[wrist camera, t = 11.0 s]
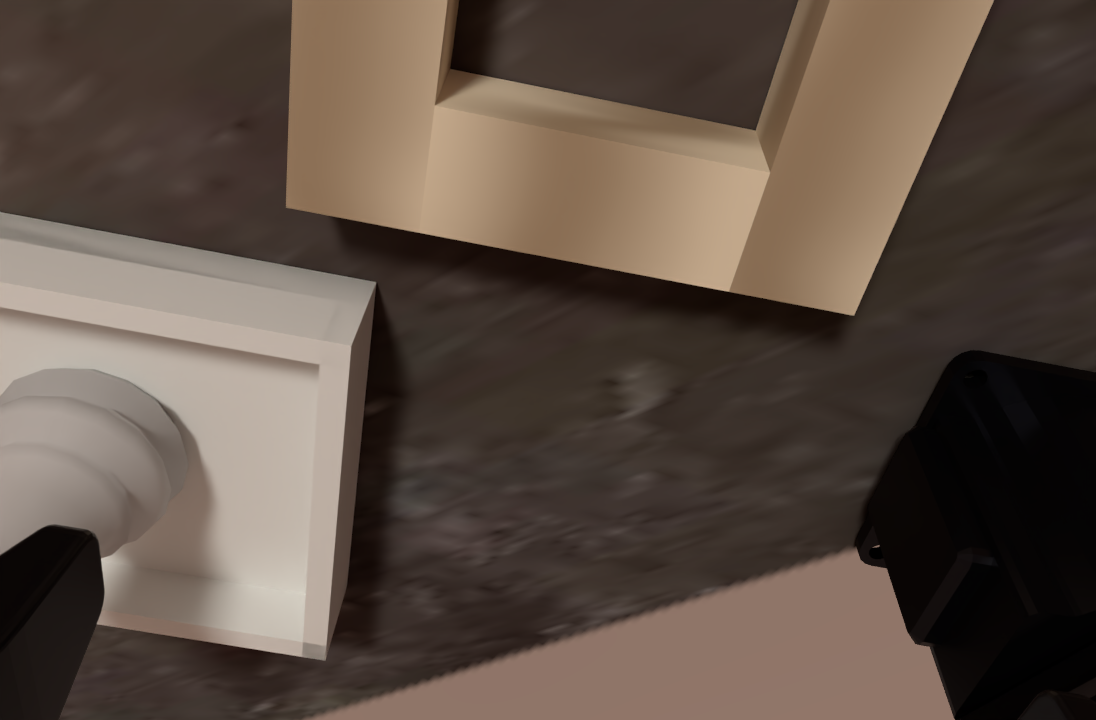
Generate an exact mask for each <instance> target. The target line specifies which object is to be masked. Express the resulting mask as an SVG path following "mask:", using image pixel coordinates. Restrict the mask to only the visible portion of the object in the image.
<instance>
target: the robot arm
mask: <svg viewBox="0 0 1096 720" xmlns="http://www.w3.org/2000/svg"><path fill="white" fill-rule="evenodd" d="M974 370H981V371H980V372H979V374H978V375H976V376H974V377H972V378H964V377H965V376H966V375H967V374H968V373H969V372H971V371H974ZM868 511H869V515H868V517H867V519H866V521H865V523H864V525H863V526H862V528H861V530H860V532H859V534H858V536H857V538H856V542H855V543H856V546H857V550H858V553H859V556H860V559H861V560H862V561H863V562H864V563H865V564H868V565H871V566H877V567H883V568H887V570H888V573H889V576H890V579H891V582H892V585H893V589H894V592H895V595H896V598H897V601H898V604H899V607H900V610H901V613H902V616H903V619H904V623H905V626H906V629H907V632H908V633H909V635H910V636H911V638H912V639H913V641H914V642H915V644H918V645H923V646H929V647H930V649H931V652H932V655H933V658H934V661H935V663H936V666H937V669H938V672H939V675H940V678H941V681H942V684H943V687H944V690H945V693H946V696H947V699H948V702H949V704H950V707H951V710H952V713H953V716H954V719H955V720H1096V373H1095V372H1090V371H1085V370H1079V369H1074V368H1069V367H1063V366H1058V365H1053V364H1048V363H1042V362H1037V361H1032V360H1027V359H1021V358H1016V357H1011V356H1005V355H1000V354H995V353H990V352H984V351H974V350H971V351H967V352H964V353H961V354H959V355H958V356H956V357H955V358H953V360H952V361H951V362H950V363H949V365H948V366H947V368H946V370H945V372H944V374H943V376H942V378H941V380H940V381H939V383H938V385H937V387H936V389H935V391H934V393H933V395H932V396H931V398H930V400H929V402H928V404H927V406H926V408H925V410H924V412H923V413H922V415H921V417H920V419H919V421H918V423H917V425H916V426H915V427H913V428H912V429H911V430H910V431H909V432H907V433H906V434H905V436H904V438H903V440H902V442H901V444H900V446H899V448H898V449H897V451H896V453H895V455H894V457H893V459H892V461H891V463H890V465H889V467H888V468H887V470H886V472H885V474H884V476H883V478H882V480H881V482H880V484H879V486H878V487H877V489H876V491H875V493H874V495H873V497H872V499H871V501H870V503H869V505H868ZM877 545H880V547H877V548H872V547H874V546H877ZM104 595H105V588H104V579H103V571H102V563H101V554H100V546H99V541H98V537H97V536H96V534H95V533H94V532H93V531H91V530H88V529H82V528H76V527H70V526H64V525H58V524H51V525H47V526H45V527H42V528H40V529H38V530H37V531H35V532H34V533H32V534H31V535H29V536H28V537H26V538H25V539H23V540H22V541H20V542H19V543H17V544H16V545H14V546H13V547H11V548H10V549H8V550H7V551H5V552H4V553H2V554H0V720H59V718H60V715H61V713H62V710H63V708H64V705H65V703H66V700H67V698H68V695H69V693H70V690H71V688H72V685H73V682H74V680H75V677H76V675H77V672H78V670H79V667H80V665H81V662H82V660H83V657H84V655H85V652H86V650H87V647H88V645H89V642H90V640H91V637H92V635H93V632H94V630H95V627H96V625H97V622H98V620H99V617H100V614H101V611H102V607H103V602H104Z"/></svg>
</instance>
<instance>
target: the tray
mask: <svg viewBox="0 0 1096 720" xmlns="http://www.w3.org/2000/svg"><path fill="white" fill-rule="evenodd" d="M375 292H376V282H372V281H367V280H361V279H356V278H351V277H345V276H340V275H334V274H329V273H324V272H318V271H313V270H308V269H302V268H297V267H292V266H286V265H281V264H276V263H270V262H265V261H259V260H254V259H249V258H243V257H238V256H233V255H227V254H222V253H217V252H211V251H206V250H201V249H195V248H190V247H184V246H179V245H174V244H168V243H163V242H158V241H152V240H147V239H142V238H136V237H131V236H126V235H120V234H115V233H109V232H104V231H99V230H93V229H88V228H83V227H77V226H72V225H67V224H61V223H56V222H51V221H45V220H40V219H34V218H29V217H24V216H18V215H13V214H8V213H2V212H0V396H1V395H2V394H3V392H4V391H5V390H6V389H7V388H8V386H9V385H10V384H11V383H12V382H13V380H16V379H18V378H21V377H24V376H27V375H29V374H32V373H35V372H38V371H40V370H43V369H57V368H69V369H95V370H98V371H101V372H104V373H107V374H110V375H113V376H116V377H119V378H122V379H125V380H128V381H130V382H131V383H132V384H134V385H135V386H137V387H138V388H140V389H141V390H143V391H144V392H146V393H147V394H149V395H150V396H152V397H153V398H155V399H156V400H157V401H158V403H159V404H160V405H161V406H162V408H163V409H164V410H165V411H166V413H167V414H168V415H169V416H170V418H171V419H172V420H173V421H174V423H175V424H176V427H177V429H178V431H179V433H180V435H181V439H182V442H183V446H184V449H185V453H186V456H187V460H188V463H189V465H188V469H187V473H186V477H185V481H184V485H183V489H182V490H181V491H180V492H179V493H178V494H177V495H176V496H175V497H173V498H172V499H171V500H170V501H169V502H168V506H167V510H166V514H165V515H164V516H163V517H161V518H160V519H159V520H158V521H157V522H156V523H155V524H154V525H153V526H152V527H151V528H150V529H149V530H147V531H146V532H145V533H144V534H143V535H142V536H141V537H140V538H139V539H138V540H136V541H134V542H130V543H127V544H124V545H122V546H121V547H120V548H119V549H118V550H117V551H116V552H115V553H114V554H113V555H111V556H108V557H104V558H101V563H102V571H103V579H104V588H105V595H104V602H103V607H102V611H101V614H100V617H99V620H98V622H97V624H100V625H106V626H112V627H119V628H125V629H131V630H137V631H144V632H150V633H156V634H162V635H169V636H175V637H181V638H187V639H194V640H200V641H206V642H212V643H219V644H225V645H231V646H237V647H244V648H250V649H256V650H262V651H268V652H275V653H281V654H287V655H293V656H300V657H306V658H312V659H318V660H326V656H327V653H328V649H329V646H330V643H331V639H332V636H333V632H334V629H335V626H336V622H337V619H338V615H339V612H340V608H341V605H342V602H343V598H344V595H345V591H346V588H347V581H348V571H349V560H350V550H351V540H352V529H353V519H354V509H355V498H356V488H357V478H358V467H359V457H360V447H361V436H362V426H363V416H364V405H365V395H366V385H367V374H368V364H369V354H370V343H371V333H372V323H373V312H374V302H375Z"/></svg>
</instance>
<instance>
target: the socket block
mask: <svg viewBox="0 0 1096 720" xmlns="http://www.w3.org/2000/svg"><path fill="white" fill-rule="evenodd" d="M993 1H994V0H798V3H797V6H796V9H795V12H794V15H793V19H792V22H791V25H790V28H789V31H788V34H787V37H786V40H785V43H784V46H783V49H782V52H781V55H780V58H779V61H778V64H777V67H776V70H775V73H774V76H773V79H772V82H771V85H770V88H769V91H768V95H767V98H766V101H765V104H764V107H763V110H762V113H761V116H760V119H759V122H758V125H757V128H756V131H755V130H750V129H745V128H740V127H735V126H730V125H725V124H720V123H715V122H710V121H705V120H700V119H695V118H690V117H685V116H681V115H676V114H671V113H666V112H661V111H656V110H651V109H646V108H641V107H636V106H631V105H626V104H621V103H616V102H611V101H606V100H601V99H597V98H592V97H587V96H582V95H577V94H572V93H567V92H562V91H557V90H552V89H547V88H542V87H537V86H532V85H527V84H522V83H517V82H513V81H508V80H503V79H498V78H493V77H488V76H483V75H478V74H473V73H468V72H463V71H458V70H453V69H450V67H451V59H452V51H453V44H454V36H455V28H456V21H457V13H458V5H459V0H292V32H291V64H290V96H289V128H288V160H287V192H286V207H287V208H292V209H297V210H302V211H308V212H313V213H318V214H323V215H329V216H334V217H339V218H344V219H350V220H355V221H360V222H365V223H371V224H376V225H381V226H386V227H392V228H397V229H402V230H407V231H413V232H418V233H423V234H428V235H433V236H439V237H444V238H449V239H454V240H460V241H465V242H470V243H475V244H481V245H486V246H491V247H496V248H502V249H507V250H512V251H517V252H523V253H528V254H533V255H538V256H544V257H549V258H554V259H559V260H565V261H570V262H575V263H580V264H586V265H591V266H596V267H601V268H607V269H612V270H617V271H622V272H628V273H633V274H638V275H643V276H649V277H654V278H659V279H664V280H670V281H675V282H680V283H685V284H691V285H696V286H701V287H706V288H711V289H717V290H722V291H727V292H732V293H738V294H743V295H748V296H753V297H759V298H764V299H769V300H774V301H780V302H785V303H790V304H795V305H801V306H806V307H811V308H816V309H822V310H827V311H832V312H837V313H843V314H848V315H853V316H854V314H855V312H856V310H857V308H858V305H859V303H860V301H861V299H862V296H863V294H864V292H865V290H866V287H867V285H868V283H869V281H870V278H871V276H872V274H873V272H874V269H875V267H876V265H877V263H878V260H879V258H880V256H881V254H882V251H883V249H884V247H885V245H886V242H887V240H888V238H889V236H890V233H891V231H892V229H893V227H894V224H895V222H896V220H897V218H898V215H899V213H900V211H901V209H902V206H903V204H904V202H905V200H906V197H907V195H908V193H909V191H910V188H911V186H912V184H913V182H914V179H915V177H916V175H917V173H918V170H919V168H920V166H921V164H922V161H923V159H924V157H925V155H926V152H927V150H928V148H929V146H930V143H931V141H932V139H933V137H934V134H935V132H936V130H937V128H938V125H939V123H940V121H941V119H942V116H943V114H944V112H945V109H946V107H947V105H948V103H949V100H950V98H951V96H952V94H953V91H954V89H955V87H956V85H957V82H958V80H959V78H960V76H961V73H962V71H963V69H964V67H965V64H966V62H967V60H968V58H969V55H970V53H971V51H972V49H973V46H974V44H975V42H976V40H977V37H978V35H979V33H980V31H981V28H982V26H983V24H984V22H985V19H986V17H987V15H988V13H989V10H990V8H991V6H992V4H993Z"/></svg>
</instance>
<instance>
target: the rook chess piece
mask: <svg viewBox="0 0 1096 720" xmlns="http://www.w3.org/2000/svg"><path fill="white" fill-rule="evenodd" d="M188 465H189V463H188V460H187V456H186V453H185V449H184V446H183V442H182V439H181V435H180V433H179V431H178V429H177V427H176V424H175V423H174V421H173V420H172V419H171V418H170V416H169V415H168V414H167V413H166V411H165V410H164V409H163V408H162V406H161V405H160V404H159V403H158V401H157V400H156V399H155V398H153V397H152V396H150V395H149V394H147V393H146V392H144V391H143V390H141V389H140V388H138V387H137V386H135V385H134V384H132V383H131V382H130V381H128V380H125V379H122V378H119V377H116V376H113V375H110V374H107V373H104V372H101V371H98V370H95V369H69V368H57V369H43V370H40V371H38V372H35V373H32V374H29V375H27V376H24V377H21V378H18V379H16V380H13V382H12V383H11V384H10V385H9V386H8V388H7V389H6V390H5V391H4V392H3V394H2V395H1V396H0V554H2V553H4V552H5V551H7V550H8V549H10V548H11V547H13V546H14V545H16V544H17V543H19V542H20V541H22V540H23V539H25V538H26V537H28V536H29V535H31V534H32V533H34V532H35V531H37V530H38V529H40V528H42V527H45V526H47V525H51V524H58V525H64V526H70V527H76V528H82V529H88V530H91V531H93V532H94V533H95V534H96V536H97V537H98V541H99V546H100V554H101V558H104V557H108V556H111V555H113V554H114V553H115V552H116V551H117V550H118V549H119V548H120V547H121V546H122V545H124V544H127V543H130V542H134V541H136V540H138V539H139V538H140V537H141V536H142V535H143V534H144V533H145V532H146V531H147V530H149V529H150V528H151V527H152V526H153V525H154V524H155V523H156V522H157V521H158V520H159V519H160V518H161V517H163V516H164V515H165V514H166V510H167V506H168V502H169V501H170V500H171V499H172V498H173V497H175V496H176V495H177V494H178V493H179V492H180V491H181V490H182V489H183V485H184V481H185V477H186V473H187V469H188Z"/></svg>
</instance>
